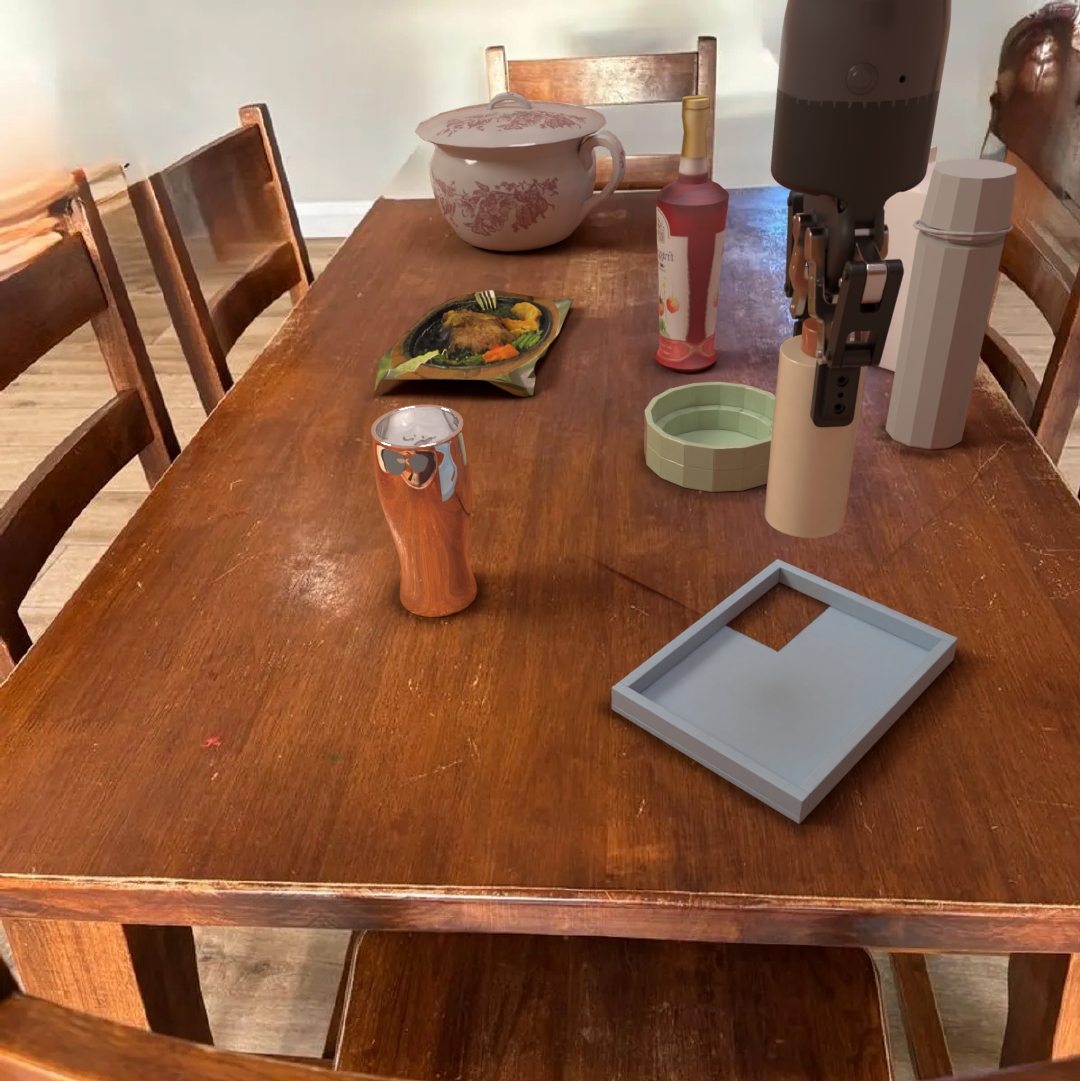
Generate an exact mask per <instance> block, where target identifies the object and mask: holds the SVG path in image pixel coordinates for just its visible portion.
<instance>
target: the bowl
mask: <svg viewBox="0 0 1080 1081" xmlns="http://www.w3.org/2000/svg"><path fill="white" fill-rule="evenodd" d="M775 395H776V394H774V393H772V392H771V391H768V390H764V389H761V388H758V387H755V386H752V385H749V384H742V383H734V382H726V381H707V382H693V383H688V384H683V385H680V386H676V387H671V388H669V389H667V390H664V391H663V392H661V393H659V394H657V395H655V396H653V397H652V399H651V400H650V401H649V403H648V404H647V406H646V407H645V409H644V412H643V413H644V414H643V415H644V416H643V418H644V419H643V420H644V421H643V454H644V460H645V464H646V466H647V467H648V468H649V469H651V471H652V472H653V473H655V474H656V475H657V476H658V477H659V478H661V479H663V480H665V481H668V482H670V483H672V484H674V485H677V486H680V487H682V488H683V489H684V488H685V489H690V490H697V491H703V492H710V493H720V492H721V493H722V492H741V491H747V490H750V489H753V488H757V487H760V486H764V485H767V479H768V469H769V458H770V448H771V437H772V427H773V416H774V405H775Z"/></svg>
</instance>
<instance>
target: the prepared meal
mask: <svg viewBox="0 0 1080 1081" xmlns="http://www.w3.org/2000/svg"><path fill="white" fill-rule="evenodd" d="M574 301H575V299H574V298H572V299H570V298H569V297H566V298H563V299H560V300H553V299H551V298H546V297H541V296H535V295H527V294H521V293H515V292H510V291H509V292H508V291H503V290H498V289H497V290H495V289H489V290H482V291H478V292H477V291H474V292H473V293H466V294H463V295H459V296H455V297H452V298H448V299H447V300H445V301H444V302H442V303H441V304H438V305H436V306H432V307H431V308H430V309H428V311H427V312H425V313H424V314H423V315H421V317H420V318H419V319H418V320H417V321H416V322H415V323H413V325H412V326H411V327H410V328H409V329H408V330H407V331H406V332H405V333H404V334H403V335H402V337H400V338H399V339H398V340H397V341H396V343H395V345H394V346H392V347H390V348H389V350H387V352H386V353H384V355H383V356H381V357H380V359H378V367H377V372H376V379H375V385H374V391H373V392H375V391H376V389H377V388H378V385H379V383H380V382H381V381H382V380H439V381H448V380H450V381H462V380H465V381H467V380H468V381H469V380H470V381H471V380H472V381H485V382H488V383H490V384H492V385H493V386H496V387H498V388H500V389H502V390H504V391H506V392H508V393H510V394H512V395H514V396H516V397H522V398H526V397H531V396H534V390H535V384H536V375H535V367H536V363H537V361H538V360H539V359H541V358H543V357H544V356H545V355H546V353H547V351H548V349H549V347H550V345H551V344H552V343H553V342H554V341H555V340H556V338H557V337H558V335H559V333H560V332H561V329H562V326H563V323H564V322H565V319H566V317H567V315H568V313H569V310H570V308H571V307H572V305H573V303H574Z"/></svg>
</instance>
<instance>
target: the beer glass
mask: <svg viewBox="0 0 1080 1081" xmlns="http://www.w3.org/2000/svg"><path fill="white" fill-rule="evenodd" d="M370 434H371V441H372V442H371V443H372V444H371V445H372V457H373V458H372V459H373V460H372V461H373V469H374V470H373V472H374V477H375V478H374V480H375V485H376V491H377V496H378V500H379V503H380V507H381V509H382V513H383V516H384V519H385V521H386V524H387V527H388V530H389V532H390V535H391V537H392V540H393V543H394V546H395V548H396V552H397V554H398V560H399V565H400V579H399V580H400V581H399V600H400V602H401V605H402V606H403V607H404V609H406V610H407V611H408V612H410V613H412V614H413V615H416V616H420V617H425V618H443V617H447V616H451V615H455V614H457V613H459V612H462V611H463V610H465V609H466V608H467V607H469V606H470V605H471V604H472V603H473V602H474V601H475V598H476V596H477V593H478V586H477V581H476V578H475V575H474V572H473V569H472V566H471V562H470V557H469V533H470V525H471V514H472V504H473V503H472V502H473V478H472V476H473V475H472V466H471V459H470V452H469V447H468V441H467V436H466V432H465V424H464V419H463V416H462V415H461V414H460V413H459V412H458V411H456V410H454V409H453V408H450V407H447V406H443V405H437V404H427V403H426V404H412V405H407V406H402V407H398V408H395V409H392V410H390V411H388V412H386V413H384V414H382V415H380V416H379V417H378V418H377V419H376V420H375V421H374V422H373V424H372V425H371V427H370Z"/></svg>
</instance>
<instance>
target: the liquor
mask: <svg viewBox="0 0 1080 1081" xmlns="http://www.w3.org/2000/svg"><path fill="white" fill-rule="evenodd" d="M710 109H711V96H709V95H704V94H693V95H692V94H691V95H686V96H682V98H681V122H682V128H683V135H682V144H681V149H680V158H679V159H680V160H679V167H678V174H677V175H678V176H677V177H678V178H677V179H676V180H673V181H671V182H669V183H667V184H666V185H664V186H663V187H662V188H661V189H660V190H658V192H657V193H656V194H655V204H656V207H655V208H656V249H657V250H656V251H657V252H656V253H657V274H658V275H657V276H658V319H659V320H658V325H659V326H658V329H659V330H658V332H659V333H658V339H659V341H658V344H659V347H658V348H657V350H656V352H655V353H654V359H655V360H656V361H657V363H658V364H660V365H661V366H662V367H663V368H665V369H666V370H669V371H671V372H675V373H686V374H687V373H689V374H690V373H697V372H701V371H704V370H706V369H707V368H709V367H710V366H711V365H712V364H715V363H716V361H717V360H718V353H717V351H716V350H715V339H716V338H715V337H716V324H717V314H718V304H719V303H718V302H719V295H720V294H719V292H720V282H721V281H720V280H721V274H722V267H723V258H724V249H725V241H726V230H727V219H728V209H729V201H730V193H729V192H728V190H726V189H725V188H724V187H723V186H722V185H721V184H720V183H719V182H716V181H714V180H711V179H709V168H708V167H709V164H708V144H707V142H708V141H707V129H708V125H709V120H710Z"/></svg>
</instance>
